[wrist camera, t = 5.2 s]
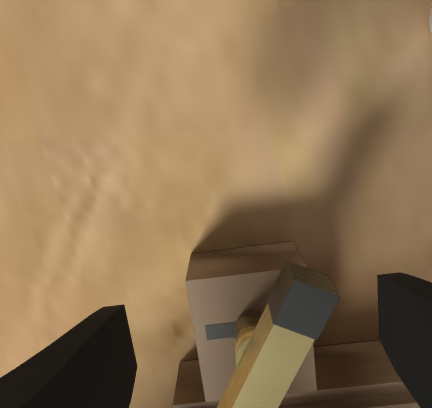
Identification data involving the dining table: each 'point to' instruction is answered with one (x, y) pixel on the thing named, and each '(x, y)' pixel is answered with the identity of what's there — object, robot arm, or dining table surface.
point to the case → (255, 303)
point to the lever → (278, 338)
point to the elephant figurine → (430, 21)
